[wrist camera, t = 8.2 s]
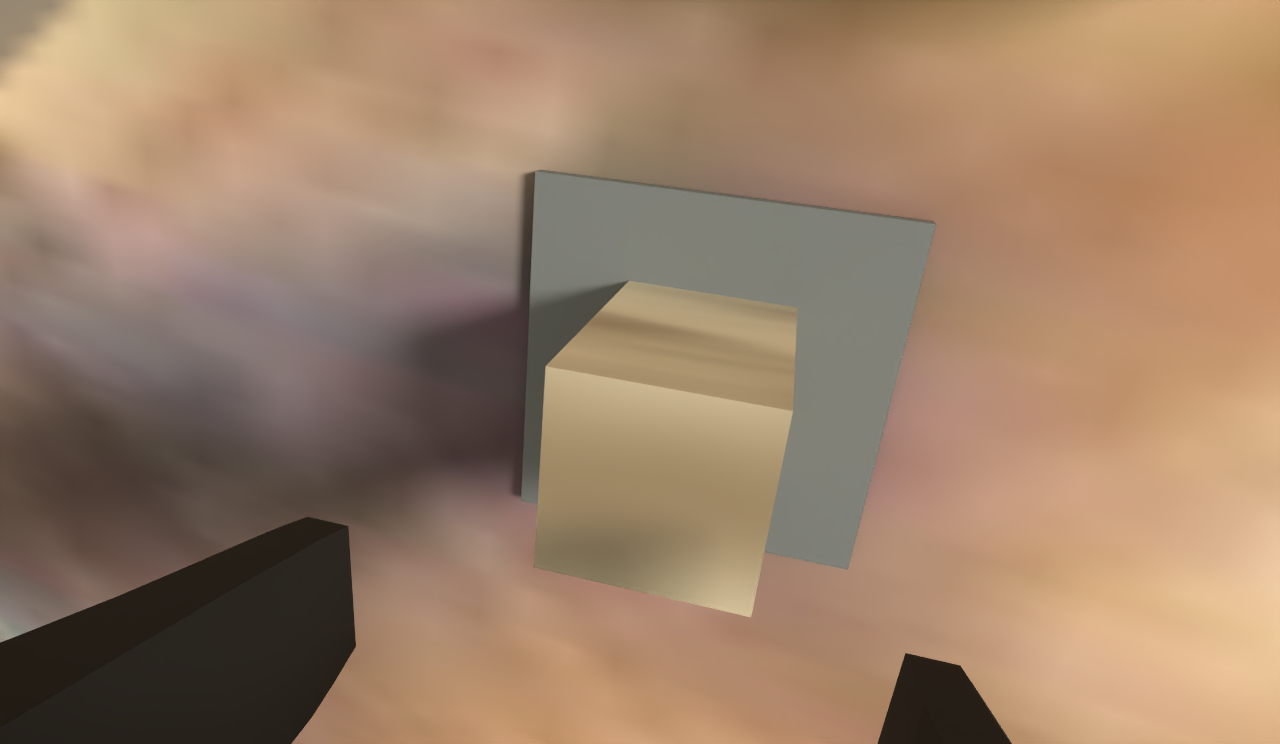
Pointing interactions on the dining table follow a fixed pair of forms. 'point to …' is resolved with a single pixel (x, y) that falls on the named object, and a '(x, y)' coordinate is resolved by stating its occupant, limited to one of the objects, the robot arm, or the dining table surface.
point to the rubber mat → (754, 270)
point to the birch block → (667, 444)
